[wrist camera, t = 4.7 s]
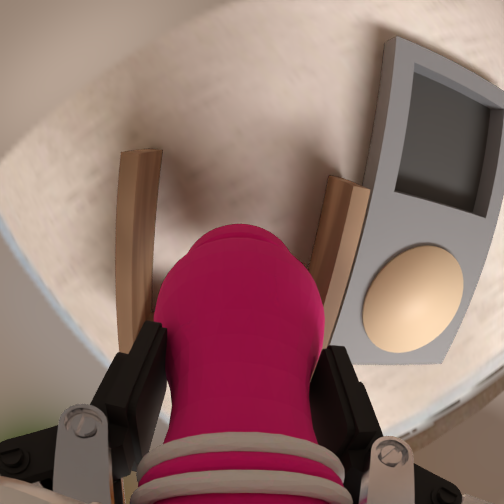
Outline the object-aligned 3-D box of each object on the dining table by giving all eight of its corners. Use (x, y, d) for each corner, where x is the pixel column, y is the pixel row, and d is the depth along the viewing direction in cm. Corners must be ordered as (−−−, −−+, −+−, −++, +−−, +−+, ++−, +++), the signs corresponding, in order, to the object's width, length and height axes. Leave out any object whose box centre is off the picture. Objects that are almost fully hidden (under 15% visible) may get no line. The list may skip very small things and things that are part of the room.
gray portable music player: (501, 99, 18) (518, 99, 16) (432, 351, 26) (443, 365, 24) (384, 42, 17) (398, 34, 15) (318, 348, 25) (324, 365, 23)
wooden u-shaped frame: (342, 177, 20) (370, 189, 16) (302, 342, 25) (313, 383, 20) (148, 148, 19) (121, 152, 15) (139, 320, 24) (120, 358, 19)
